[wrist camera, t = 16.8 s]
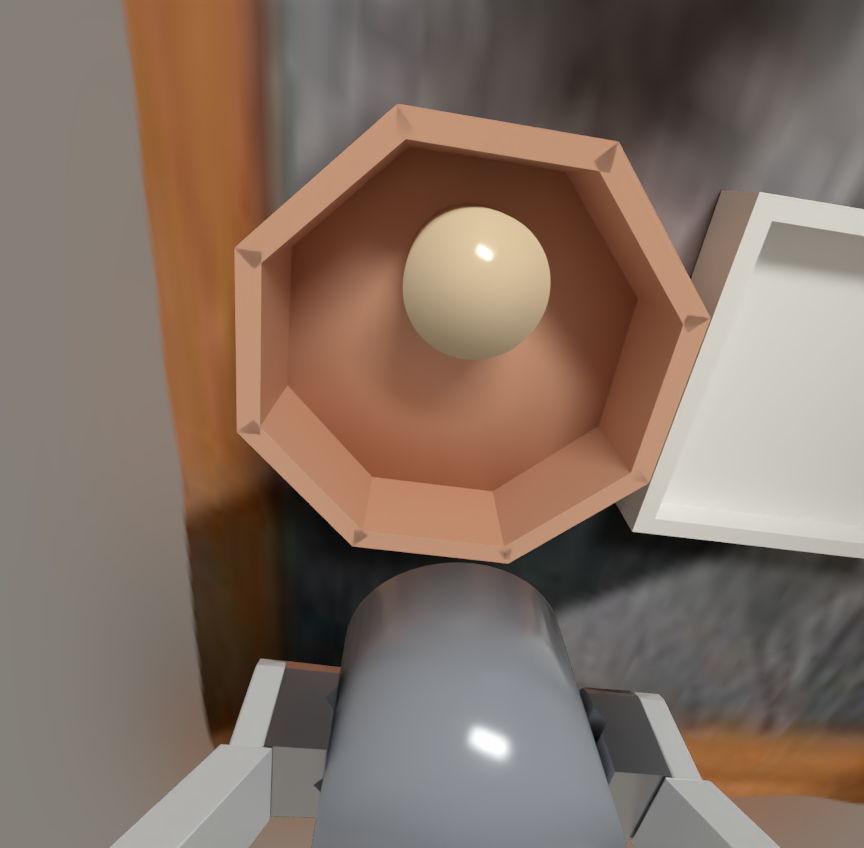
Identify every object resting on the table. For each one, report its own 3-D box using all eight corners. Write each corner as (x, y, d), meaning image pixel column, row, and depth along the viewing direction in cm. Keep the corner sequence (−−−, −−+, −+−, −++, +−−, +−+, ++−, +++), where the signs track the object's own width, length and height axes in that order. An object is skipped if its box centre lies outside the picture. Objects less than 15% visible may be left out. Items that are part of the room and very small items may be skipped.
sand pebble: (537, 209, 19) (564, 217, 15) (516, 332, 21) (536, 365, 17) (411, 196, 19) (408, 201, 15) (402, 323, 21) (398, 354, 17)
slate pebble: (585, 575, 11) (671, 782, 7) (532, 726, 12) (578, 952, 9) (354, 550, 10) (319, 756, 7) (337, 710, 12) (302, 940, 8)
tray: (1057, 246, 21) (1134, 254, 19) (879, 532, 27) (922, 565, 24) (721, 190, 20) (759, 192, 18) (613, 500, 26) (632, 531, 23)
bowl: (688, 169, 19) (767, 166, 15) (581, 505, 26) (614, 575, 21) (279, 100, 18) (232, 75, 14) (272, 468, 25) (238, 533, 20)
